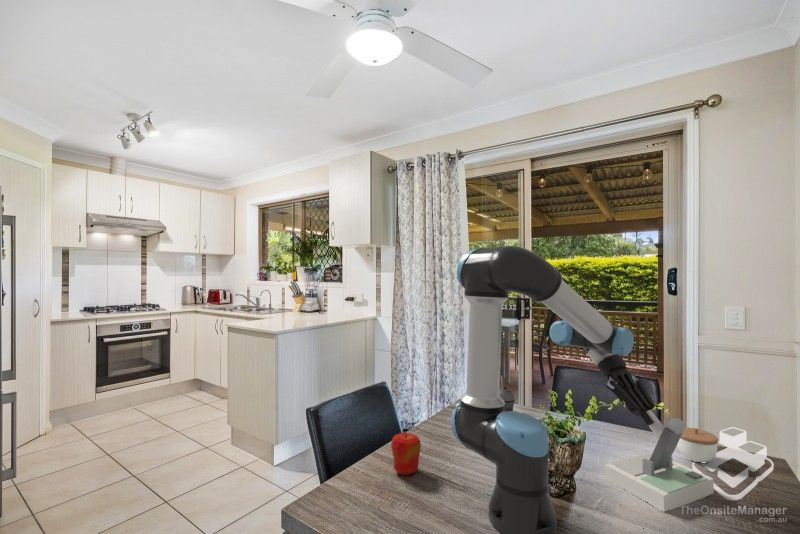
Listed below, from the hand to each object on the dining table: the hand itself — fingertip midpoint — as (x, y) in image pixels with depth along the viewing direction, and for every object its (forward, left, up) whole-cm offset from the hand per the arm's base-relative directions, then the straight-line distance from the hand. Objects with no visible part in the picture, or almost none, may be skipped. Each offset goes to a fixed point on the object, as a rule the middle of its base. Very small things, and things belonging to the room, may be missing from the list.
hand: (662, 435), depth 103 cm
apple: (-18, +67, -14) cm, 71 cm away
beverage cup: (+23, +44, -14) cm, 52 cm away
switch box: (+1, +1, -14) cm, 14 cm away
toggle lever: (+1, +1, -9) cm, 9 cm away
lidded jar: (+24, -14, -14) cm, 31 cm away
